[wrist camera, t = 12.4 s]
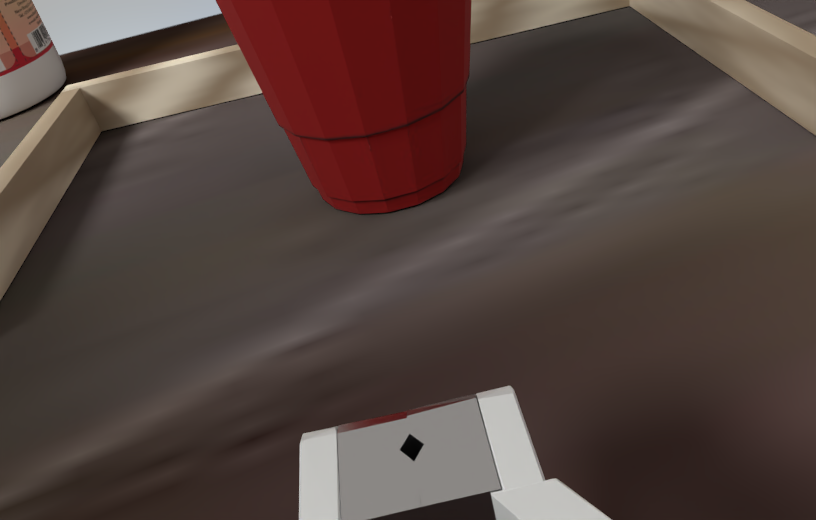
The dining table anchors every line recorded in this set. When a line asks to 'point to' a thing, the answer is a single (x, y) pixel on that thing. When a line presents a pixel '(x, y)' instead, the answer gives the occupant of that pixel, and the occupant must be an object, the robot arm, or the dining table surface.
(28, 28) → the fruit juice
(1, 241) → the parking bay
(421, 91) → the plastic cup
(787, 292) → the dining table surface
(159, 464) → the dining table surface
